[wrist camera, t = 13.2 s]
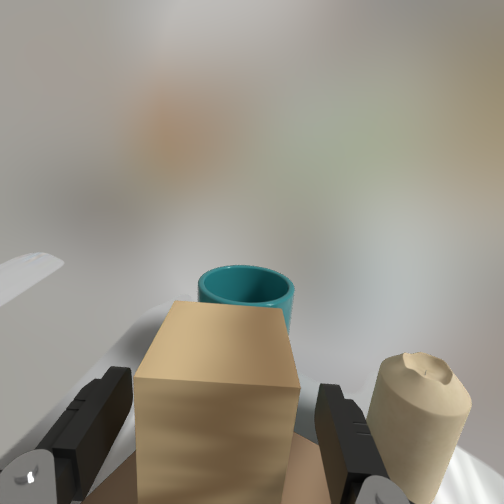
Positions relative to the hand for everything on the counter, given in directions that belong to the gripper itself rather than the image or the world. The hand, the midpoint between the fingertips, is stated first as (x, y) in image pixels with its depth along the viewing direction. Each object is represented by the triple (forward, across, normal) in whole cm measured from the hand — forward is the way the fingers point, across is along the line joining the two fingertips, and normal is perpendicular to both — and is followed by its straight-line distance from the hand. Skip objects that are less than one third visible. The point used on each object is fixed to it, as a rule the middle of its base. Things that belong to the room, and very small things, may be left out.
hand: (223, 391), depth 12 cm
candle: (+6, -13, +13) cm, 20 cm away
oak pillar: (0, 0, +7) cm, 7 cm away
